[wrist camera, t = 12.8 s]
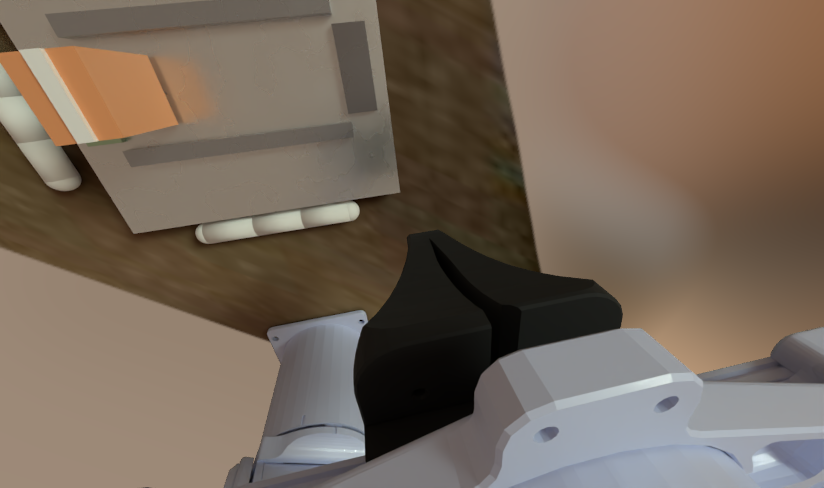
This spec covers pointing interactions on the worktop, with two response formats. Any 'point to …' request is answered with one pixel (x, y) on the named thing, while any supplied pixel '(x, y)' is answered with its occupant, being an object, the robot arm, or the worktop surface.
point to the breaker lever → (89, 92)
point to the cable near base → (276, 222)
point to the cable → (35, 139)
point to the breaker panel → (235, 103)
